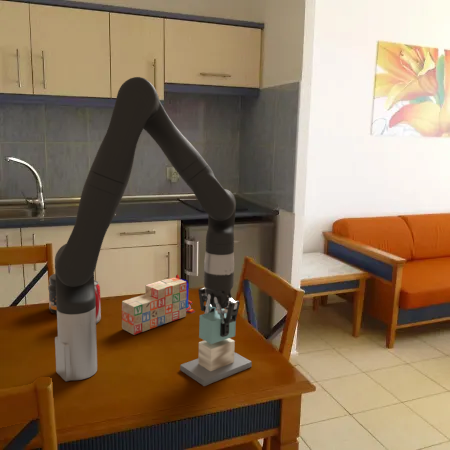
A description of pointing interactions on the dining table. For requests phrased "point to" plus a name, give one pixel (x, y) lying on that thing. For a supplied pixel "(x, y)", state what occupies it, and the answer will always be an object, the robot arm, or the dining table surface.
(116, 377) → the dining table surface
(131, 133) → the robot arm
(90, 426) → the dining table surface
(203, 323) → the teal brick
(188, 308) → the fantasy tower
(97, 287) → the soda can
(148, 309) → the stack of blocks
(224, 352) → the cream brick
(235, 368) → the baseplate
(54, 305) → the supplement container
